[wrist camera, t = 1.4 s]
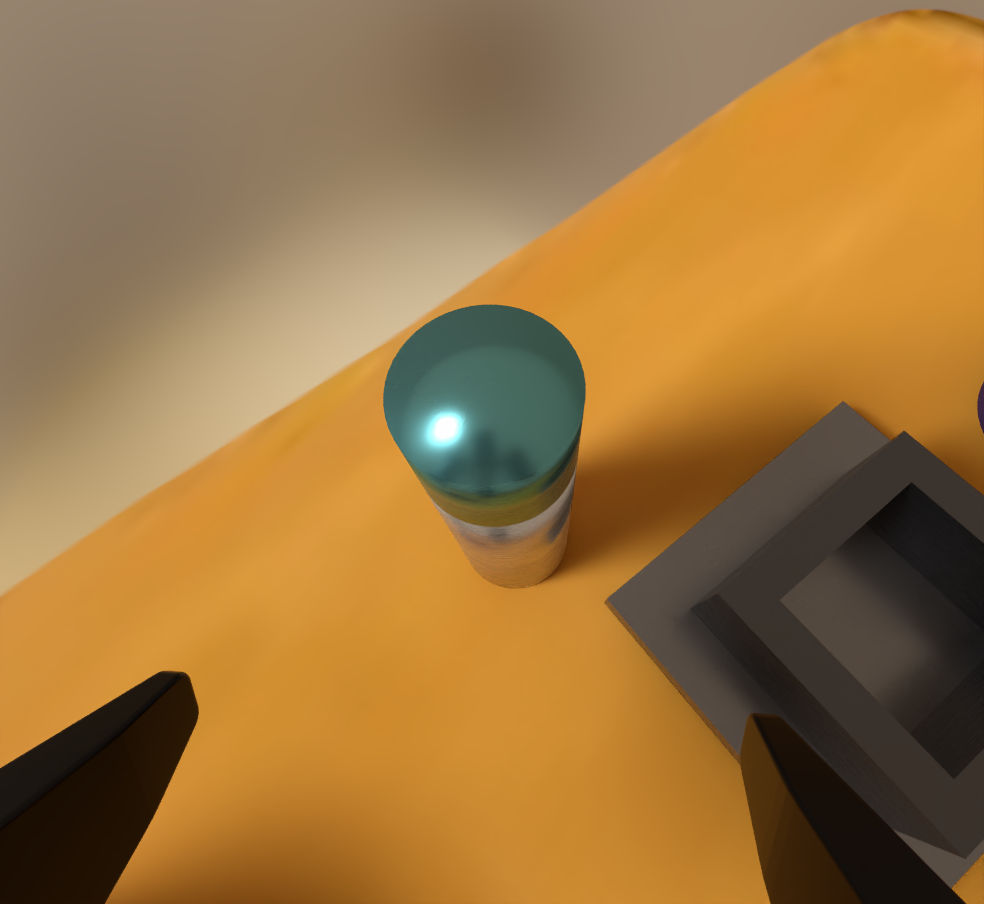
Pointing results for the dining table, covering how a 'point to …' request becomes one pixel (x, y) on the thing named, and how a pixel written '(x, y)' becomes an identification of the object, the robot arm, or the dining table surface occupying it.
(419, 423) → the teal and silver cylinder
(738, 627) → the docking mount
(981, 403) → the lever
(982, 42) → the dining table surface
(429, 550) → the dining table surface
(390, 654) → the dining table surface
